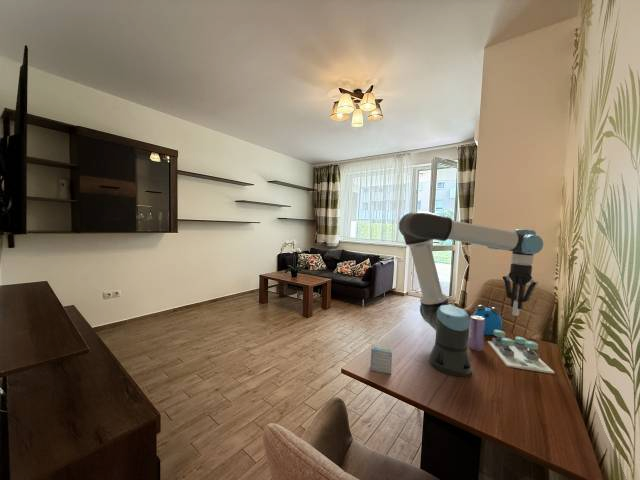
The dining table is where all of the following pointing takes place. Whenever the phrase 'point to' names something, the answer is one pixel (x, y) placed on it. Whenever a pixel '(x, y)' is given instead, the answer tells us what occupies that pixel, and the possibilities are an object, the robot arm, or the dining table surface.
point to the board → (519, 357)
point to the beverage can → (476, 332)
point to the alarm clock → (489, 318)
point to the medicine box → (381, 359)
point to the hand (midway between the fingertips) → (515, 314)
